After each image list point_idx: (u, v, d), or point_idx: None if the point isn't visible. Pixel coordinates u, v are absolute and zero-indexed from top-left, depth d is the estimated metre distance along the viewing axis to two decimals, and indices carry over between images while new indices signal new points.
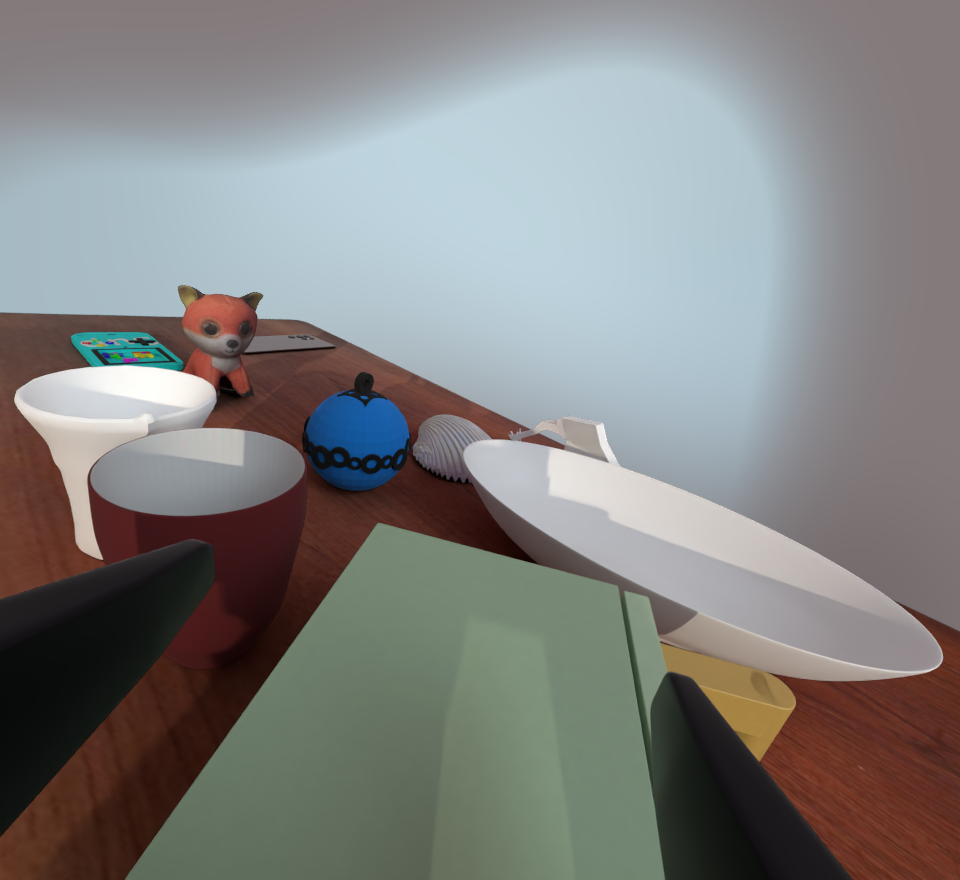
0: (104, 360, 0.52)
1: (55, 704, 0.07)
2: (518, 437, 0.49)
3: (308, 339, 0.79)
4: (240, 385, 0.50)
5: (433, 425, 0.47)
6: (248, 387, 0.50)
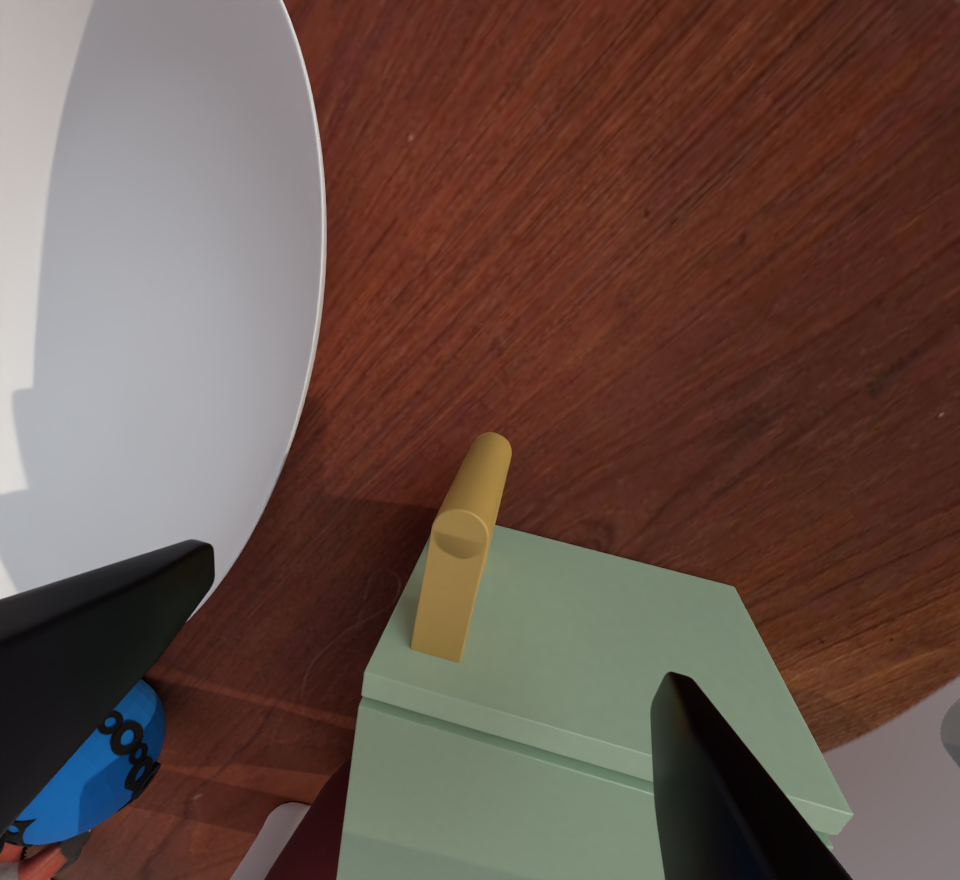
0: None
1: (55, 704, 0.07)
2: None
3: None
4: None
5: None
6: None
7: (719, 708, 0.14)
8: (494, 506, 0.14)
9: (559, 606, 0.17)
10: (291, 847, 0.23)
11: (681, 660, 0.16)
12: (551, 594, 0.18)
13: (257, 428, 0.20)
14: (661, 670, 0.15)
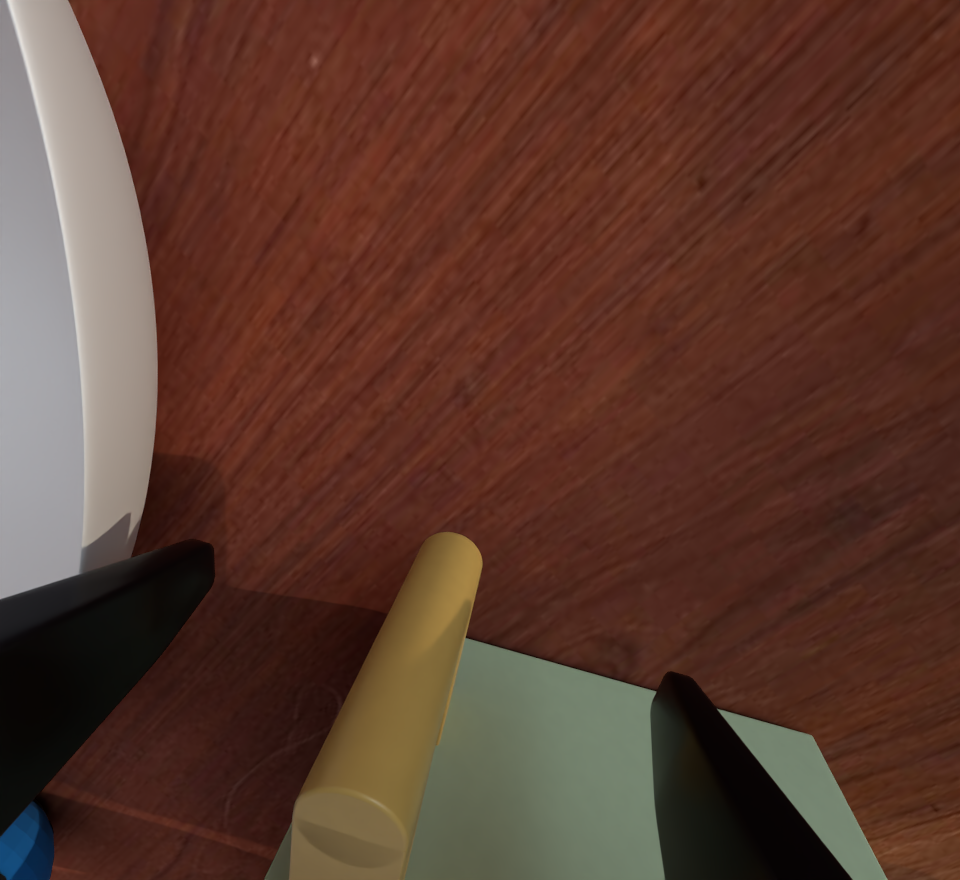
0: None
1: (55, 704, 0.07)
2: None
3: None
4: None
5: None
6: None
7: None
8: (431, 733, 0.07)
9: (557, 812, 0.11)
10: None
11: None
12: (544, 784, 0.11)
13: None
14: None
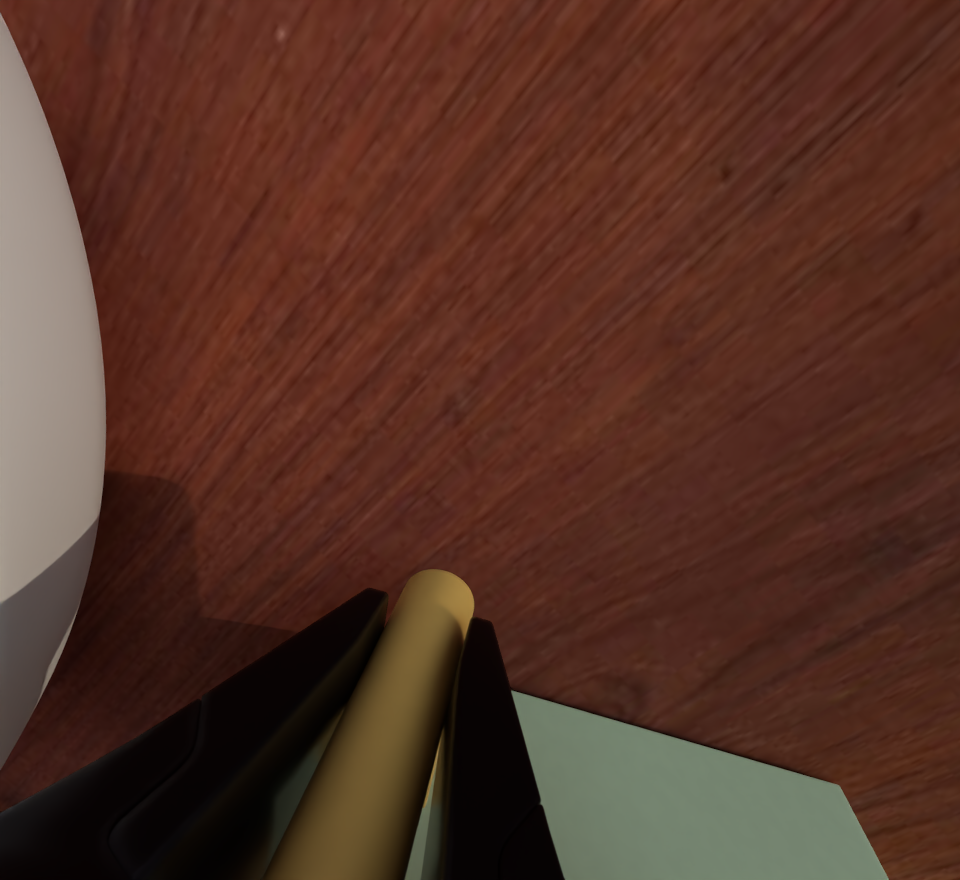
0: None
1: (291, 779, 0.06)
2: None
3: None
4: None
5: None
6: None
7: None
8: (404, 843, 0.06)
9: None
10: None
11: None
12: None
13: None
14: None
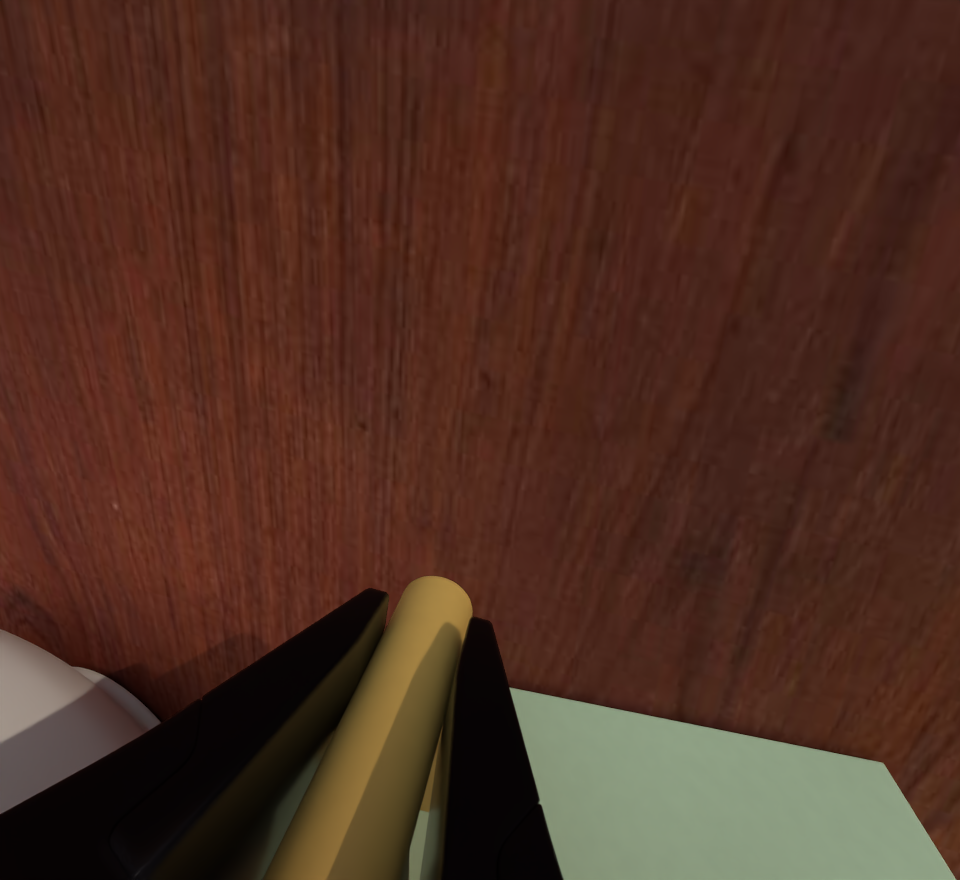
0: None
1: (292, 779, 0.06)
2: None
3: None
4: None
5: None
6: None
7: None
8: (396, 847, 0.06)
9: None
10: None
11: None
12: (571, 854, 0.10)
13: None
14: None
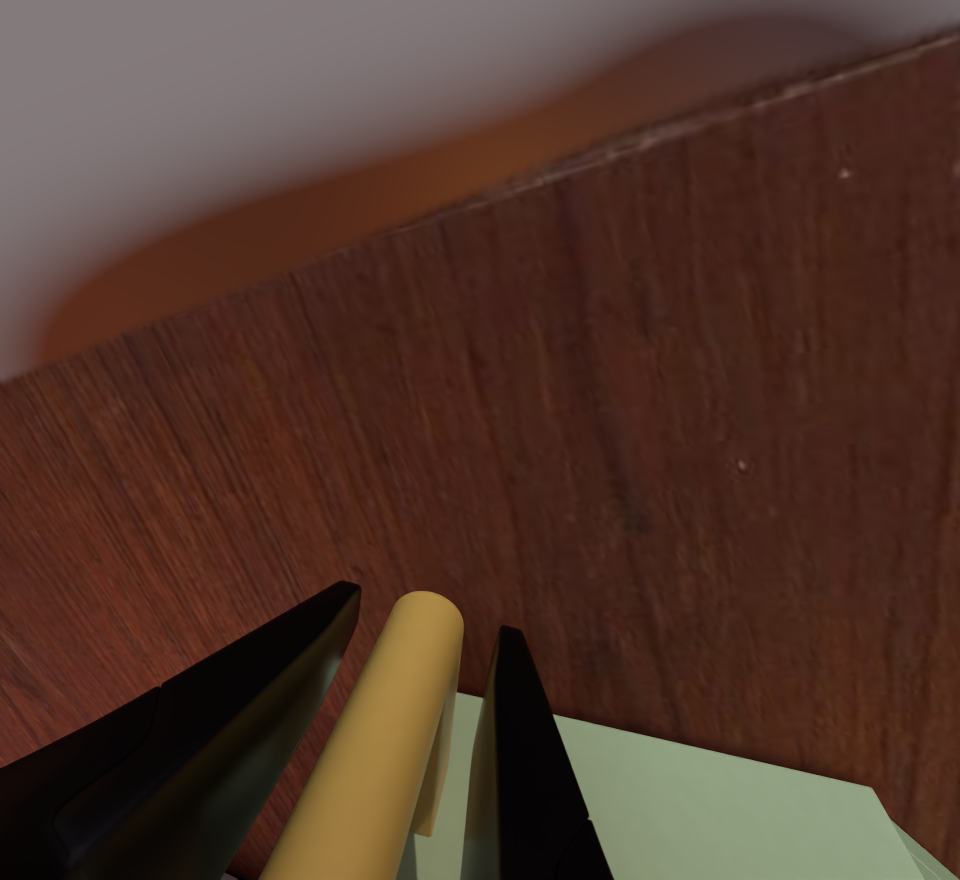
0: None
1: (255, 767, 0.06)
2: None
3: None
4: None
5: None
6: None
7: None
8: None
9: None
10: None
11: None
12: None
13: None
14: None
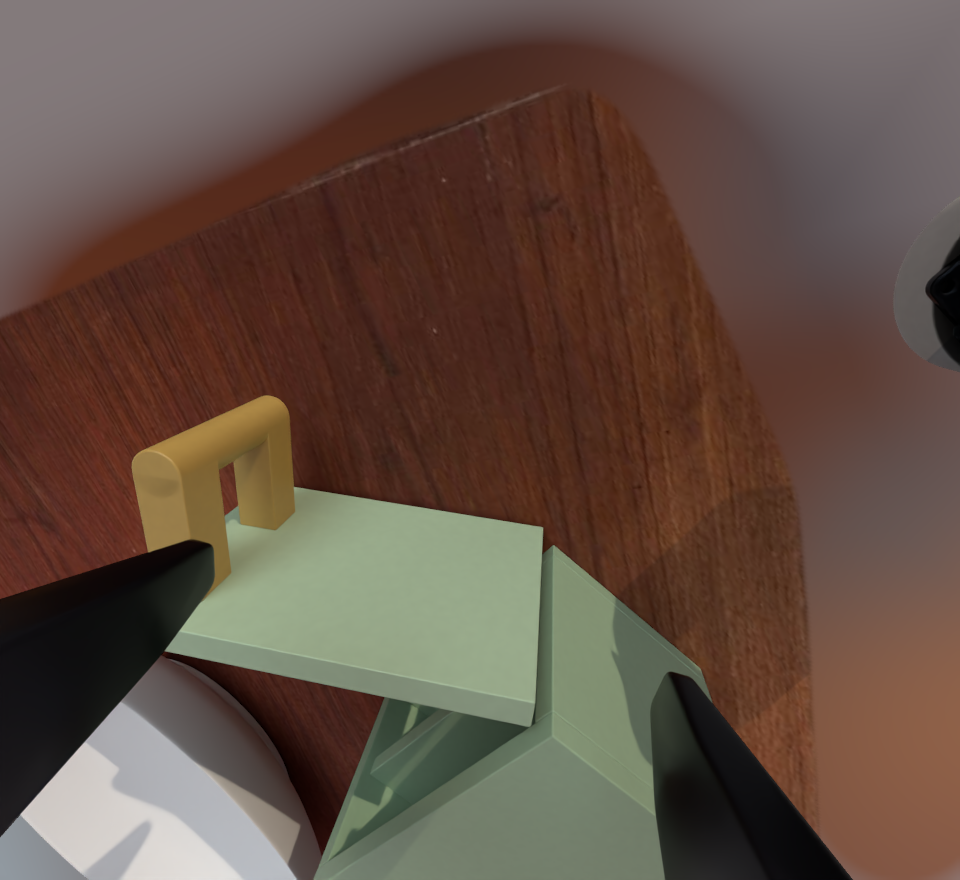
0: None
1: (55, 704, 0.07)
2: None
3: None
4: None
5: None
6: None
7: (452, 625, 0.15)
8: (207, 450, 0.15)
9: (340, 552, 0.18)
10: None
11: (440, 589, 0.17)
12: (338, 543, 0.19)
13: None
14: (412, 598, 0.16)
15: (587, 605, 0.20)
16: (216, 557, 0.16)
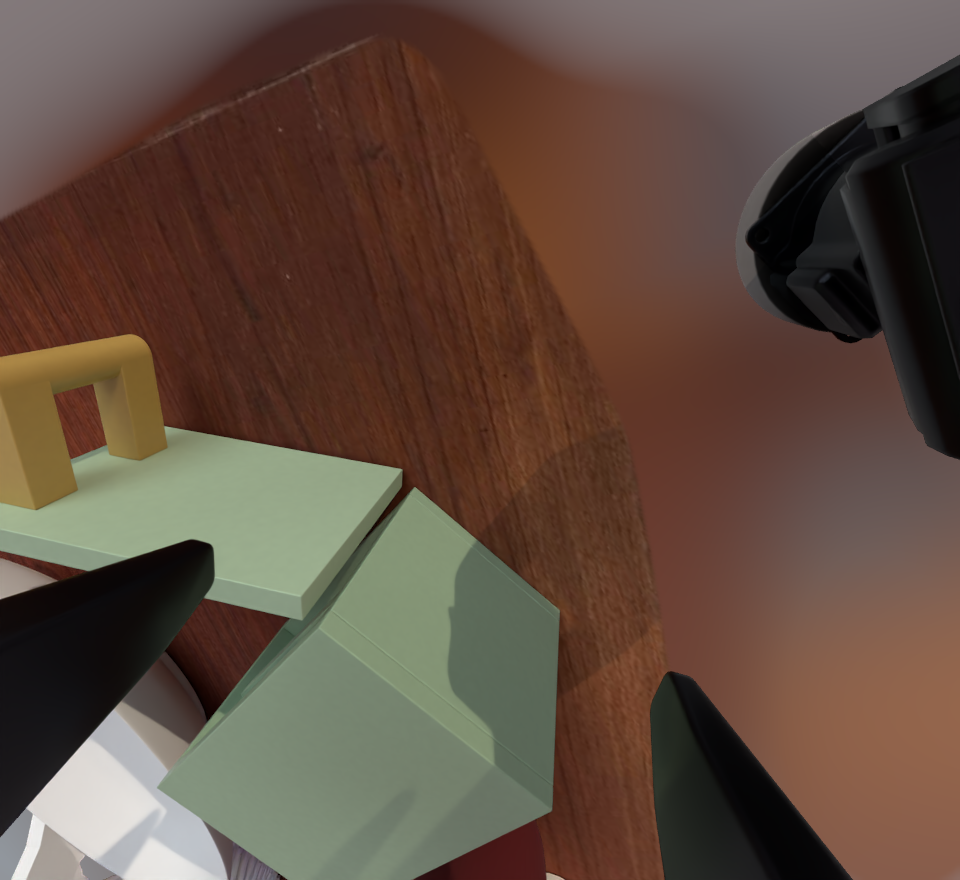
0: None
1: (55, 704, 0.07)
2: None
3: None
4: None
5: None
6: None
7: (261, 537, 0.17)
8: (36, 370, 0.16)
9: (191, 479, 0.20)
10: None
11: (268, 511, 0.18)
12: (193, 473, 0.20)
13: None
14: (237, 516, 0.18)
15: (431, 539, 0.21)
16: (54, 471, 0.17)
